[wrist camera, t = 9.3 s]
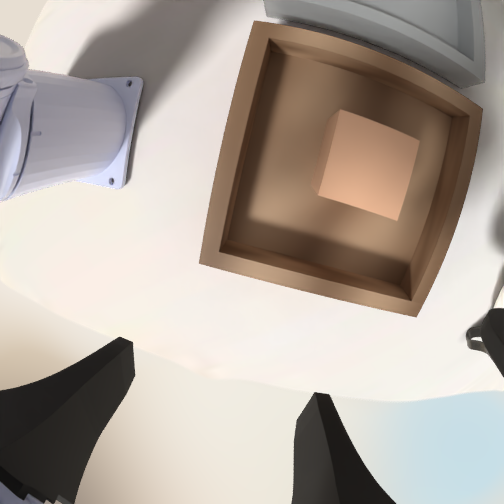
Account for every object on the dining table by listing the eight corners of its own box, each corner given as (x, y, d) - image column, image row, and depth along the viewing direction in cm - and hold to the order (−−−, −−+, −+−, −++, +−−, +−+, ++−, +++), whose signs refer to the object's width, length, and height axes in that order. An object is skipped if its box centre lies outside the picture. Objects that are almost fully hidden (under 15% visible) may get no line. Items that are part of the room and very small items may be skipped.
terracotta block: (310, 184, 15) (317, 195, 12) (327, 119, 14) (340, 109, 10) (373, 204, 15) (397, 220, 11) (390, 142, 14) (419, 140, 10)
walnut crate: (212, 245, 18) (199, 263, 15) (259, 40, 13) (254, 20, 10) (401, 295, 18) (416, 317, 15) (458, 112, 13) (482, 108, 10)
